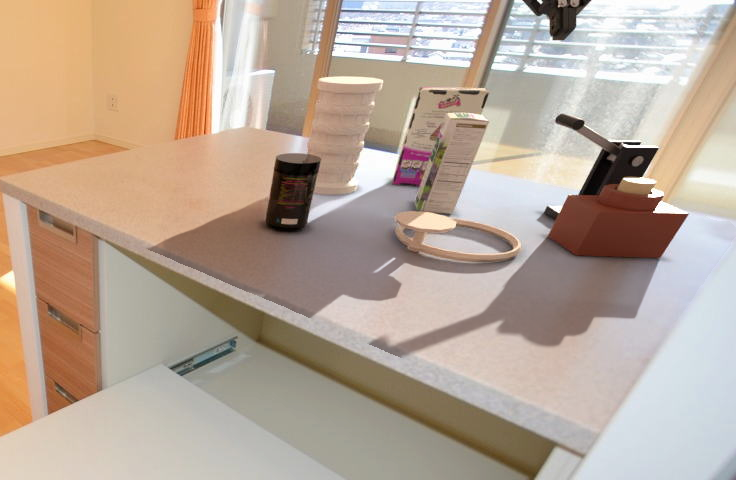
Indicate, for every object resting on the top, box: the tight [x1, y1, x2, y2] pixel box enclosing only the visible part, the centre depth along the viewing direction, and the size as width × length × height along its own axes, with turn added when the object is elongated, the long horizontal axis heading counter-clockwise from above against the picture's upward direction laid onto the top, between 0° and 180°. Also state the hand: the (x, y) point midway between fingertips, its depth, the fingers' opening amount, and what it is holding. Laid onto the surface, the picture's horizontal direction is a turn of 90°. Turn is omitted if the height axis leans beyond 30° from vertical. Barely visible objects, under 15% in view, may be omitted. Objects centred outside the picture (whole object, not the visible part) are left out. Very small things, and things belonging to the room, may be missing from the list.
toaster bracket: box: [543, 139, 660, 221], centre depth 84 cm, size 9×10×12 cm
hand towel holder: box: [394, 210, 522, 263], centre depth 80 cm, size 17×4×21 cm
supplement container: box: [264, 152, 321, 233], centre depth 86 cm, size 7×7×10 cm
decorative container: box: [306, 75, 384, 196], centre depth 102 cm, size 12×12×18 cm
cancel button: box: [617, 177, 657, 195], centre depth 75 cm, size 4×4×2 cm
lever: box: [554, 112, 629, 162], centre depth 81 cm, size 13×5×2 cm, turn 82°
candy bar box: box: [392, 86, 490, 188], centre depth 102 cm, size 11×5×16 cm, turn 67°
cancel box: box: [547, 184, 690, 259], centre depth 77 cm, size 11×8×8 cm
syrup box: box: [414, 113, 490, 215], centre depth 91 cm, size 6×6×14 cm
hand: (562, 36), depth 82 cm, fingers closed
